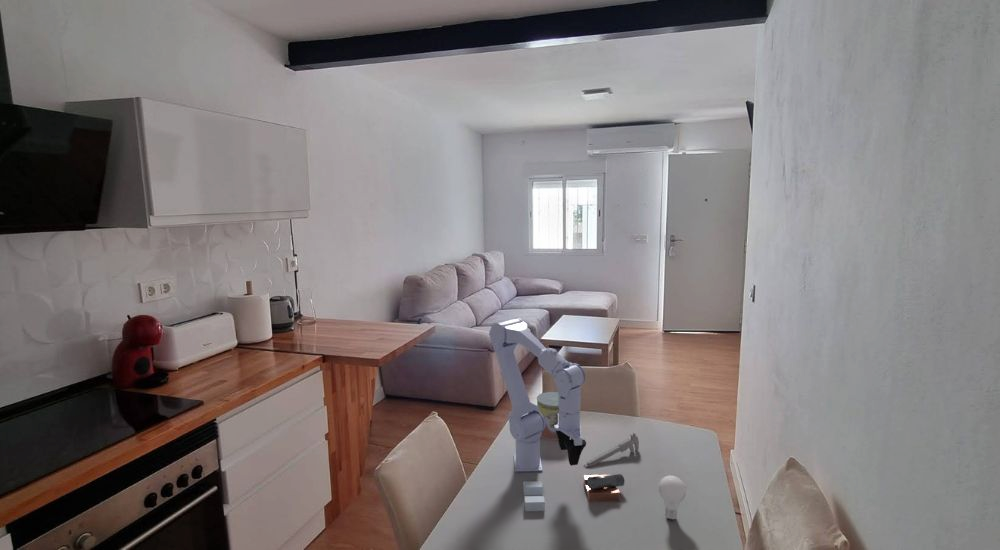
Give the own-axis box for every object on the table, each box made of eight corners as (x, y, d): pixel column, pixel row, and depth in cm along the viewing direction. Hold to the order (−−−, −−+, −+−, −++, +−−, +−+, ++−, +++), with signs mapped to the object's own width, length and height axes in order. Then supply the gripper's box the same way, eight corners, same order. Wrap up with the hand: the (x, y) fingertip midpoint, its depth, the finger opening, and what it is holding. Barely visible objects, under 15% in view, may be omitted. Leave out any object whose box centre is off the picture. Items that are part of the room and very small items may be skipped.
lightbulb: (662, 506, 123) (664, 467, 122) (688, 516, 119) (690, 476, 118) (653, 519, 119) (655, 478, 117) (679, 530, 115) (681, 488, 113)
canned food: (537, 439, 158) (537, 405, 156) (536, 423, 169) (536, 391, 167) (571, 439, 158) (572, 405, 156) (568, 423, 169) (568, 391, 167)
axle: (594, 490, 125) (593, 477, 126) (587, 488, 127) (586, 476, 128) (624, 486, 129) (624, 474, 130) (617, 485, 131) (617, 473, 132)
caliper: (636, 450, 151) (636, 431, 150) (638, 451, 150) (639, 433, 149) (583, 467, 142) (583, 447, 141) (585, 469, 141) (585, 449, 140)
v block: (583, 483, 134) (583, 475, 133) (612, 483, 134) (612, 474, 133) (589, 501, 126) (589, 492, 126) (619, 501, 126) (619, 492, 126)
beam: (523, 489, 131) (523, 481, 131) (541, 489, 131) (541, 481, 131) (525, 511, 122) (525, 502, 122) (544, 511, 122) (544, 502, 122)
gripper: (547, 400, 134) (546, 444, 137) (563, 424, 120) (563, 473, 122) (571, 397, 136) (570, 442, 138) (590, 421, 122) (589, 470, 124)
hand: (568, 456), depth 130 cm, fingers open, 7 cm apart
